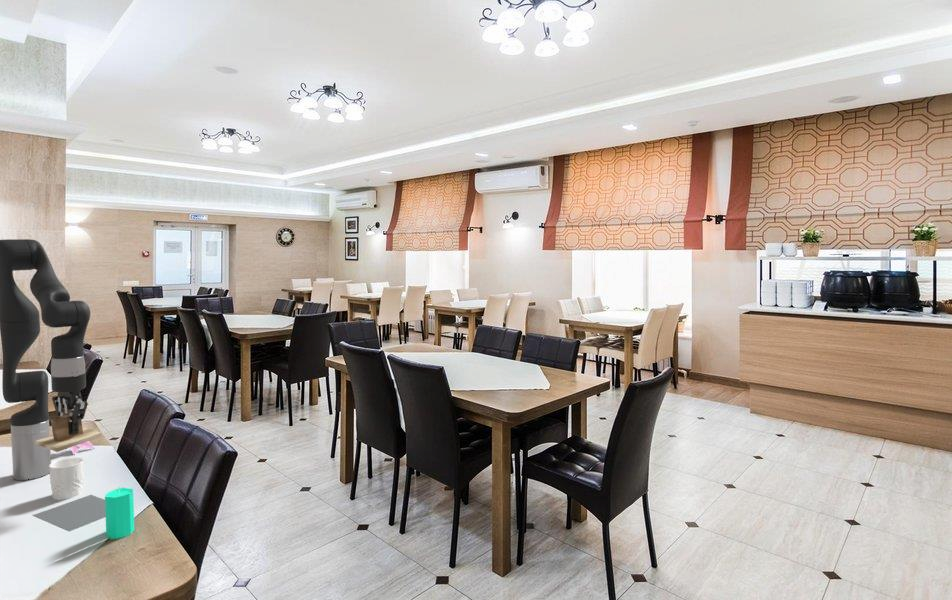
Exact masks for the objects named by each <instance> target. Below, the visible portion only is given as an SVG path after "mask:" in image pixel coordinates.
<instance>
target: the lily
mask: <svg viewBox="0 0 952 600" xmlns="http://www.w3.org/2000/svg"><path fill="white" fill-rule="evenodd" d="M80 448H84V449H88V450H94V449H95V448H94V445H93V444H92V443H91V441H90V440H89V441H87V442H84V443H81V444H78V445H75V446H73V447H70V449H71V453H72V455H74V453H77V454H78V453H79V450H80ZM93 448H94V449H93Z"/></svg>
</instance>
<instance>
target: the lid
mask: <svg viewBox="0 0 952 600" xmlns="http://www.w3.org/2000/svg"><path fill="white" fill-rule="evenodd" d="M72 415H73V413H72ZM78 423H79V433H78V434H74V435H69V426H68V415H64V416H60V417H58V416H57V417H55V418H51V419H50V424H51V425H50V426H51V430H52V434H50V436H48V437H45V438H42V439H39V440H36V441H35V444H36V445H39V446H42V447H45V448H47V449H50V451H53V452H56V453H59V452H61V451H64V450H66V449H67V450H68V449H71V447H73V446H75V445H78V444H81V443H84V442H87V441H89V442H90V441H92V440H95V439H97V438H101V437H103V435H102V434H103V433H102V432H100V431H97V430H94V429H90V428H88V427H84V426H83V424H82V423H83V422H82V419H81V420H79V421H78Z"/></svg>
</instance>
